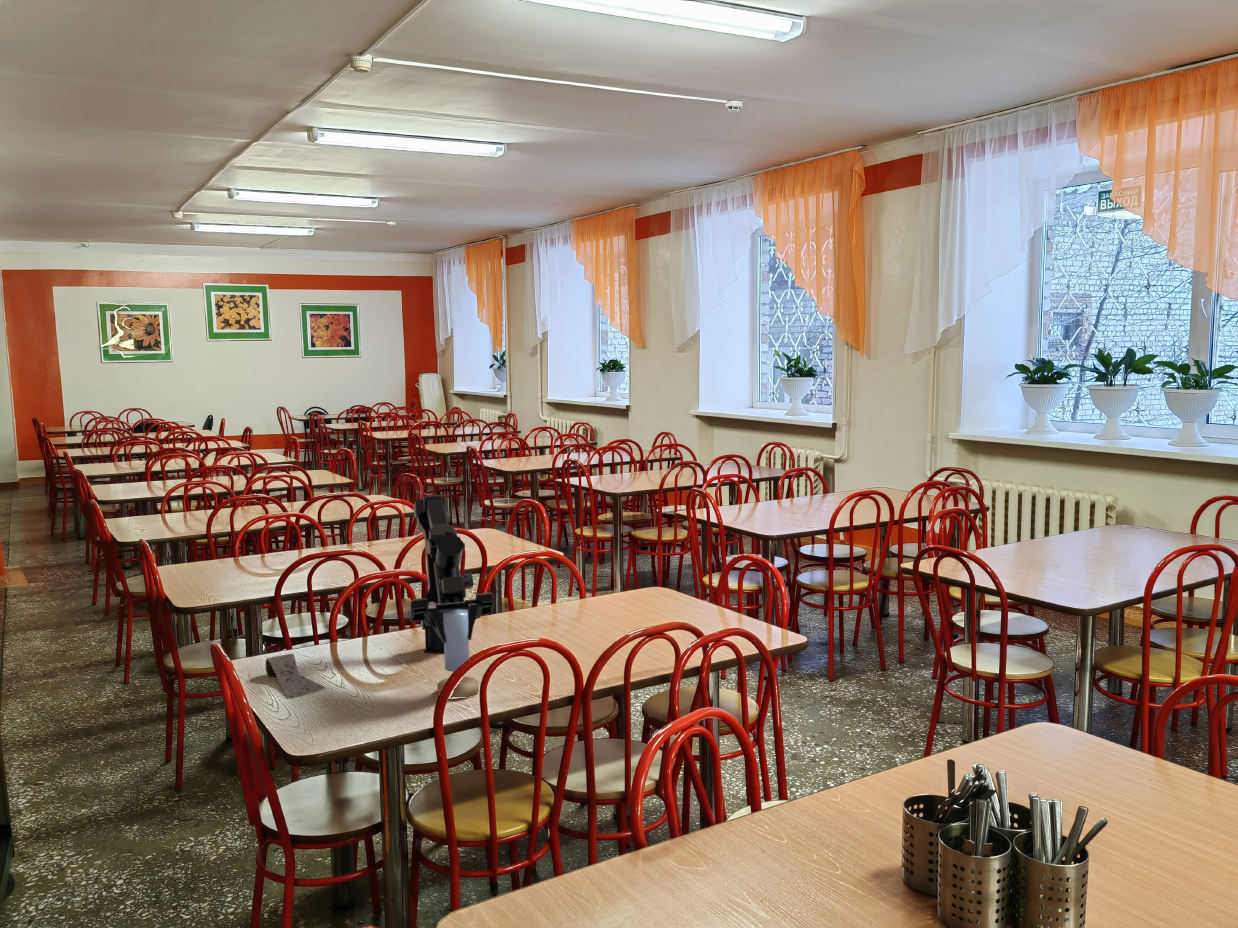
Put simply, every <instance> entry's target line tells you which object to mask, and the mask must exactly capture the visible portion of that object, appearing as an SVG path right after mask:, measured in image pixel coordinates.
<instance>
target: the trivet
mask: <svg viewBox="0 0 1238 928" xmlns="http://www.w3.org/2000/svg"><path fill="white" fill-rule="evenodd" d="M463 677H464V678H463V679H462V680H461V681H460V683H459V684H458V685H457V687H456V688H455V689H454V692H453V694H452V696H451V698H452V697H469V698H471V697H470V696H472V697H474V696H476V695H478V693H479V680H478V679H477V678H474V677H470V676H463ZM448 678H449V677H447V678H444V679H442V680H440V681H438V682H437V684H436V688H437V689H436V690H437V696H438V695H439V694H440V693H441V690H442V688H443V687H444V684H445V683H446V681H447V680H448ZM477 692H478V693H477ZM473 695H474V696H473Z"/></svg>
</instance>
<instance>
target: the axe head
mask: <svg viewBox="0 0 1238 928" xmlns="http://www.w3.org/2000/svg"><path fill="white" fill-rule="evenodd" d="M265 672H266V675H267V677H268V678H270V679H272V680H277V682H278V684H279V685H280V688H281V691H282V693H283V696H284V697H285V699H286V700H293V699H297V698H300V697H303V696H306V695H310V694H312V693H317V692H320V691H322V690H325V689H326V687H325V686H324V685H323V684H320V683H317V682H315V681H313V680H311V679H310V678H307V677H305V676H304V675H302V674H300V673H299V670H298V665H297V662H296V657H295V654H294V653H288V654H287V653H286V654H284V655H283V654H282V655H275V656H272V657H267V658H266V659H265Z"/></svg>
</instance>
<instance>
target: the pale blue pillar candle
mask: <svg viewBox="0 0 1238 928" xmlns="http://www.w3.org/2000/svg"><path fill="white" fill-rule="evenodd" d="M468 612H469V611H468V610H467V609H466V610H460V609H455V610H448V611H445V612H444V613H443V625H444V635H445V643H444V653H443V654H444V656H443V657H444V670H445V671H447V672H451V673H452V672H454V671H456V670H457V668H458V667H460V666H461V665H462V664H464V662H466V661H467V660H468V659H469V660H470V645H469V644H470V643H469V642H470V640H469V633H468Z"/></svg>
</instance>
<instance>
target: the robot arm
mask: <svg viewBox="0 0 1238 928" xmlns="http://www.w3.org/2000/svg"><path fill="white" fill-rule="evenodd" d="M448 515H449V502H448V499H447V498H445V496H444V495H441V494H433V495H426V496H423V497H422V498H421V499H418V500H416V501H414V504H413V517H414V519H416V524H417V527H418V529H420V531H421V533H423V535H424V546H425V547H424V548H425V558H426V560H425V561H426V572H427V573H426V574H427V585H428V586H427V587H428V590H427V593H426V595H425V597H423V598H413V599H412V600H411V601H410V603H409V611H408V612H409V621H410V622H412V623H416V622H420V626H421V629H422V630H424V637H425V641H424V642H425V648H424V649H423V653H427V654H428V653H429V654H430V653H431V654H432V653H435V654H437V653H438V654H439V653H443V654H444V643H445V635H444V625H443V613H444V612H445V611H448V610H455V609H460V610H466V611H468V633H469V641H471V640H472V636H473V630H474V626H475V623H476V620H477V619H478V620H479V619H480V618H481V617H482V616H487V615H488V616H489V615H490V616H491V615H492V614H494V611H495V605H496V596H495V595H494V593H492V592H480V593H476V595H475V599H471V600H470V599H469V600H465V598H466V596H467V592H466V590H467V589H472V588H474V577H473V572H464V573H463V574H462V575H461V569H460V565H461V562H462V557H463V551H464V549H466V544H465V542H464V541H463V540H462V539H461V537H460V536H459V535H458V533H457V531H456V528H454V526H450V524H449V521H448V517H447V516H448Z"/></svg>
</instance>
